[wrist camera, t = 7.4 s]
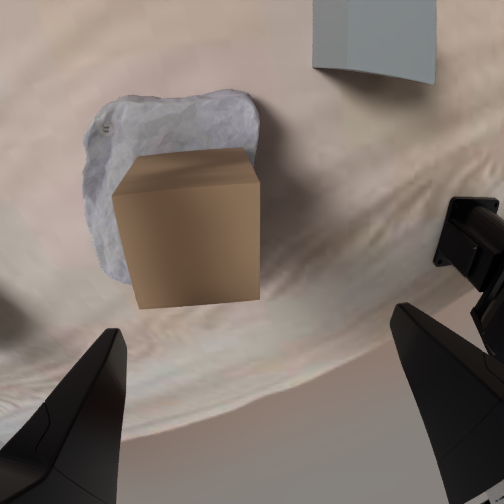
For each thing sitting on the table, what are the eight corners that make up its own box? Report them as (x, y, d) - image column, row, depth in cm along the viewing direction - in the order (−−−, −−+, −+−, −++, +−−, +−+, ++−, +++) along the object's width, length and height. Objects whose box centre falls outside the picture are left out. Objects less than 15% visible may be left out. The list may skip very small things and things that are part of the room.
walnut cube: (242, 147, 15) (260, 182, 10) (244, 238, 17) (259, 299, 13) (137, 156, 14) (111, 196, 10) (152, 246, 17) (139, 309, 13)
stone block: (118, 252, 23) (249, 266, 23) (90, 289, 19) (243, 310, 19) (107, 91, 17) (265, 90, 17) (65, 97, 13) (261, 92, 13)
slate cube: (387, 6, 14) (436, -3, 10) (386, 76, 17) (434, 85, 12) (312, -10, 13) (346, -30, 9) (311, 67, 16) (346, 68, 12)
